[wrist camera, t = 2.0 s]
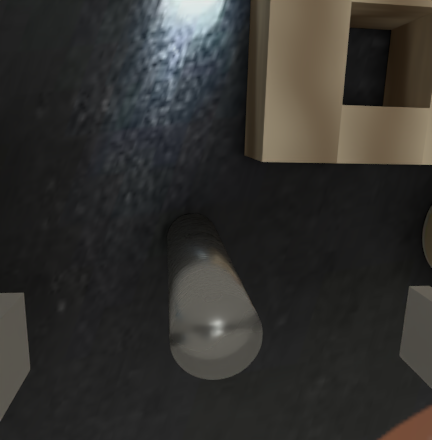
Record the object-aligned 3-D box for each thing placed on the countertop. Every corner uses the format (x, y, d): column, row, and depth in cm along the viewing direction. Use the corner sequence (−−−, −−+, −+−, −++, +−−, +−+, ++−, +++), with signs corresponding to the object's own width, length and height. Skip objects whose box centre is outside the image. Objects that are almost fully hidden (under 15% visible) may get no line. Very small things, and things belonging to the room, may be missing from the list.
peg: (167, 261, 25) (169, 382, 13) (167, 213, 24) (169, 295, 12) (216, 260, 25) (260, 377, 13) (217, 213, 24) (265, 293, 13)
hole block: (244, 155, 24) (262, 161, 19) (252, -35, 22) (274, -76, 17) (433, 158, 25) (489, 165, 21) (459, -19, 23) (527, -52, 19)
